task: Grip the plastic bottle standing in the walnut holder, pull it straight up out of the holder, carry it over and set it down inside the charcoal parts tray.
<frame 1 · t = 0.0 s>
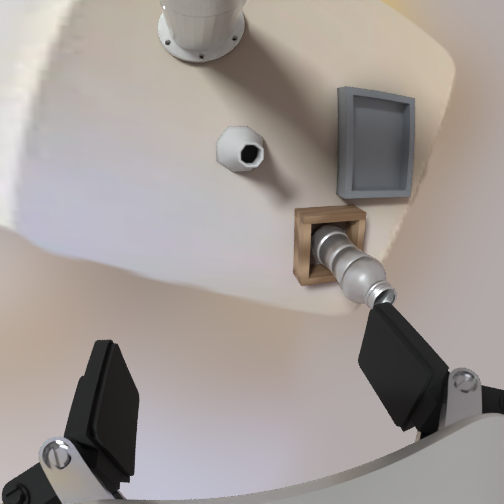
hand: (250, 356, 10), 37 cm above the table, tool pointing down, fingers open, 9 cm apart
flask: (239, 148, 42), on the table
parts tray: (373, 143, 45), on the table
holder: (323, 239, 51), on the table
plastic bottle: (323, 238, 51), resting in holder
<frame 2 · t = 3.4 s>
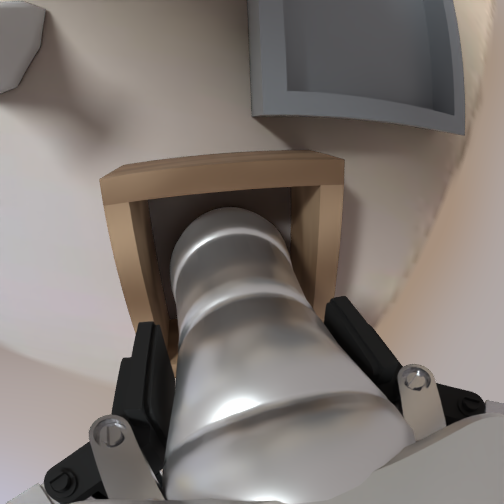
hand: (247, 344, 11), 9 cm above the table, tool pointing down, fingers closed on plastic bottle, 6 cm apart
flask: (5, 49, 10), on the table
holder: (224, 250, 18), on the table
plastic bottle: (224, 249, 19), resting in holder, touching gripper
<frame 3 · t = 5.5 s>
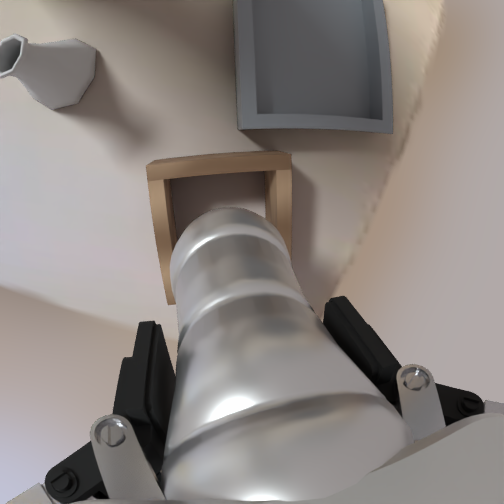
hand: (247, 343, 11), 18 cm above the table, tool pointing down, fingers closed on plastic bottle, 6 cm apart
flask: (64, 74, 19), on the table
parts tray: (309, 40, 22), on the table
holder: (220, 217, 27), on the table
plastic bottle: (224, 249, 19), point 9 cm above the table, touching gripper
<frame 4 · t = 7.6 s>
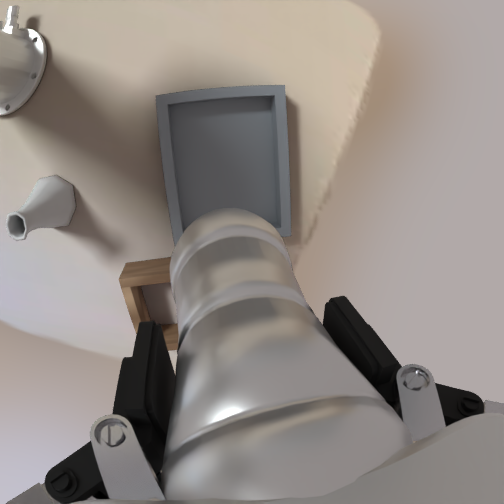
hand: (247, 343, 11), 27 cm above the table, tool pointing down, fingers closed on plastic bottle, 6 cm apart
flask: (54, 201, 32), on the table
parts tray: (224, 164, 34), on the table
holder: (173, 296, 40), on the table
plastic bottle: (224, 250, 19), point 18 cm above the table, touching gripper
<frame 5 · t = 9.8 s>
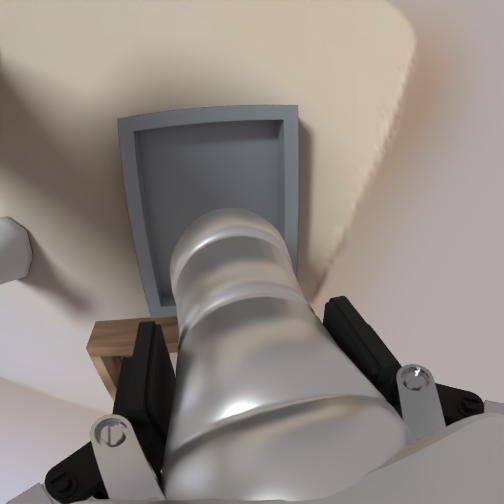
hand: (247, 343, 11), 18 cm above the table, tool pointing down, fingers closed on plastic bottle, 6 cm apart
flask: (9, 246, 24), on the table
parts tray: (213, 209, 27), on the table
holder: (152, 357, 32), on the table
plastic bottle: (224, 249, 19), point 9 cm above the table, touching gripper
when the fingers open (11 cm above the table, at t = 11.6 s): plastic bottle drops 1 cm, resting on parts tray.
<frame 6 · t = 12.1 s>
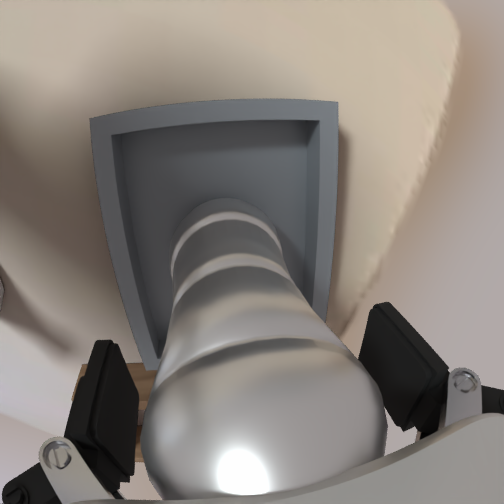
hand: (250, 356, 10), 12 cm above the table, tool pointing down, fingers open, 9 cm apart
parts tray: (221, 237, 20), on the table
holder: (150, 402, 26), on the table
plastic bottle: (221, 238, 20), point 1 cm above the table, touching parts tray
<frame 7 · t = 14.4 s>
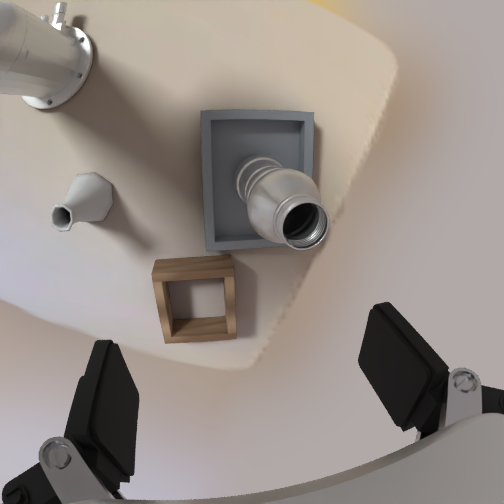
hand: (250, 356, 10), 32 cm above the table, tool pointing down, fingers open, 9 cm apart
flask: (91, 196, 36), on the table
parts tray: (255, 177, 39), on the table
holder: (196, 292, 44), on the table
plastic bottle: (255, 176, 38), point 1 cm above the table, touching parts tray
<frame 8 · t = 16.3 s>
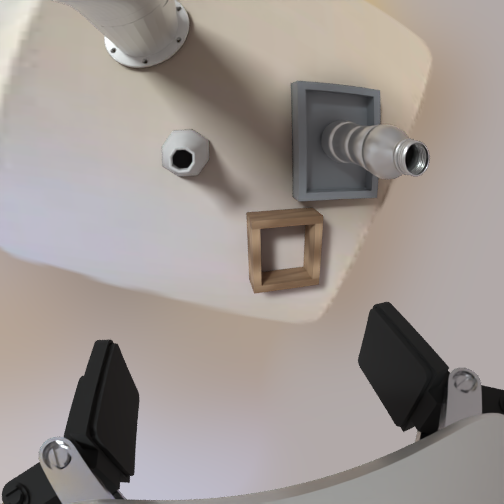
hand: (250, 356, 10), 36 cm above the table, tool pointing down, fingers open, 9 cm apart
flask: (185, 152, 41), on the table
parts tray: (333, 140, 43), on the table
holder: (280, 244, 49), on the table
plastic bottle: (335, 139, 43), point 1 cm above the table, touching parts tray
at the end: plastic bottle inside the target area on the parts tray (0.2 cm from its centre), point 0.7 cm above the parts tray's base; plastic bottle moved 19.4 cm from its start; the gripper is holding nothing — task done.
